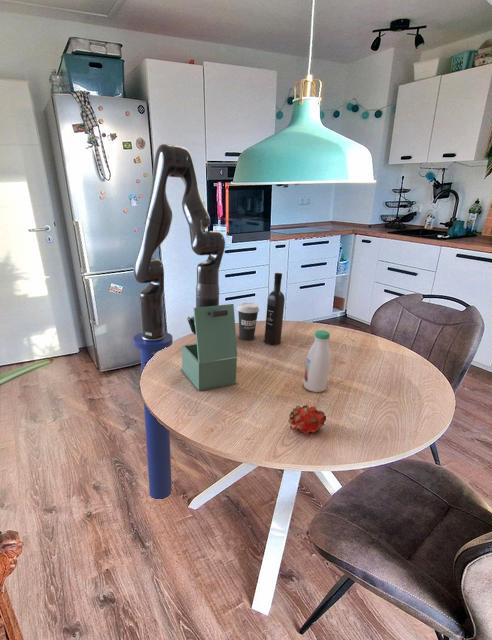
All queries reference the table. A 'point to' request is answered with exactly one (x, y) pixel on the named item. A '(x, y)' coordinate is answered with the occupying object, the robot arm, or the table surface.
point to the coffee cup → (247, 320)
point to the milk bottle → (318, 363)
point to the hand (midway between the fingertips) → (207, 343)
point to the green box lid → (215, 332)
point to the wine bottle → (274, 313)
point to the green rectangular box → (207, 369)
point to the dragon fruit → (306, 419)
